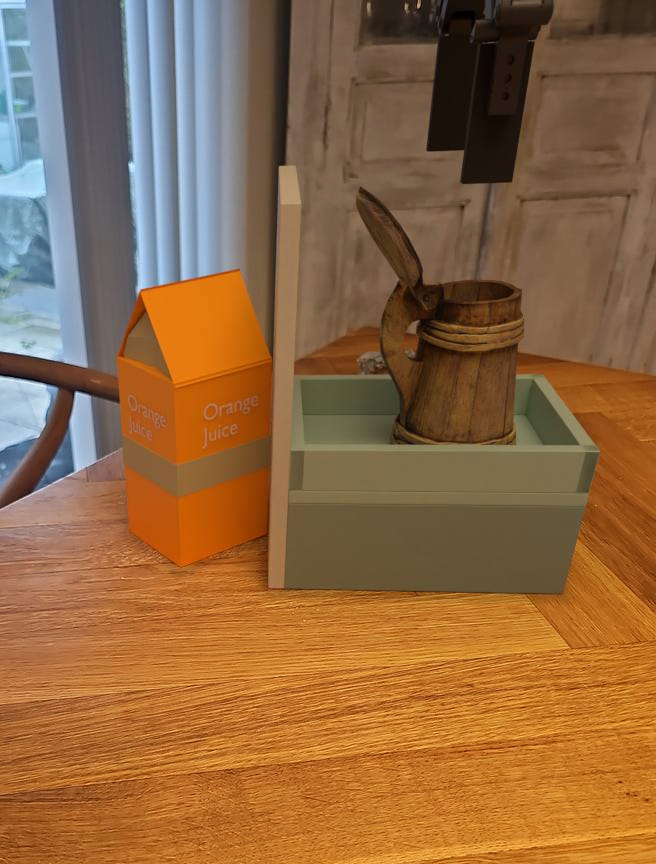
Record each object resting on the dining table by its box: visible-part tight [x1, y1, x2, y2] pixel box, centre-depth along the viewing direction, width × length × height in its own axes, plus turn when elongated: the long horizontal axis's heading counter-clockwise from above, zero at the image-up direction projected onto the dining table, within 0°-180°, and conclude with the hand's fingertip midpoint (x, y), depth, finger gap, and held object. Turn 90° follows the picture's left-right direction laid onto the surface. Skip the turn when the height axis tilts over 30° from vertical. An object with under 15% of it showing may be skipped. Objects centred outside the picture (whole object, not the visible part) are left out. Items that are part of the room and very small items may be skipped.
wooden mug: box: [355, 186, 525, 445], centre depth 60 cm, size 9×14×18 cm, turn 100°
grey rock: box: [356, 348, 416, 375], centre depth 97 cm, size 11×8×4 cm
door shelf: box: [267, 165, 601, 595], centre depth 63 cm, size 21×15×26 cm
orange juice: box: [116, 268, 273, 568], centre depth 67 cm, size 8×9×20 cm
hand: (464, 165), depth 55 cm, fingers open, 13 cm apart
